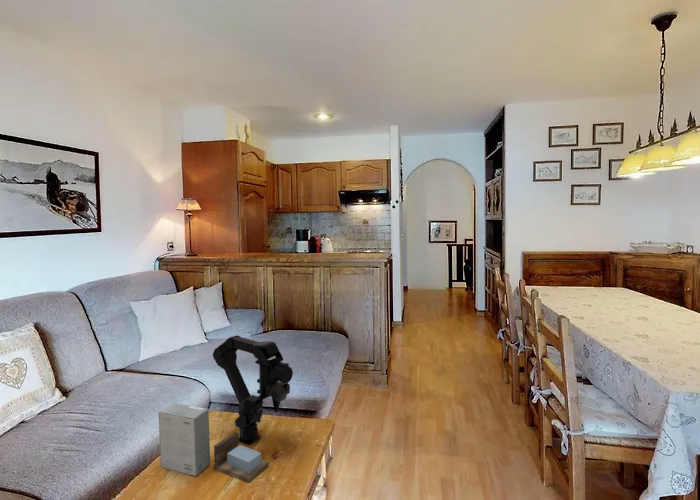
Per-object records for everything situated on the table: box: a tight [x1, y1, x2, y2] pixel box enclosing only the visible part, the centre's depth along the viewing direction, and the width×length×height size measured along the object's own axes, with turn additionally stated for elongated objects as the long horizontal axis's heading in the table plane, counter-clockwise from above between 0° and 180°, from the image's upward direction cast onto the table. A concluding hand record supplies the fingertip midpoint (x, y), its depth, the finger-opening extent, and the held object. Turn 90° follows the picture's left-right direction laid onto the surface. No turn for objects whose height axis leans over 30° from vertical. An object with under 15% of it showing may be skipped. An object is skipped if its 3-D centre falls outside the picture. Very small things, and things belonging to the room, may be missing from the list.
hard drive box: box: [158, 403, 211, 477], centre depth 135 cm, size 16×8×20 cm, turn 71°
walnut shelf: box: [212, 431, 270, 483], centre depth 134 cm, size 16×10×8 cm, turn 63°
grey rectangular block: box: [227, 444, 262, 474], centre depth 133 cm, size 10×6×4 cm, turn 60°
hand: (267, 417), depth 145 cm, fingers open, 9 cm apart
